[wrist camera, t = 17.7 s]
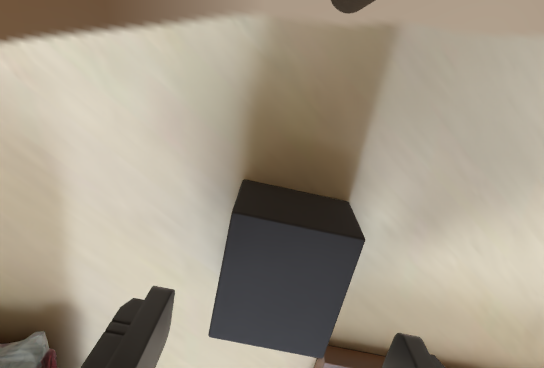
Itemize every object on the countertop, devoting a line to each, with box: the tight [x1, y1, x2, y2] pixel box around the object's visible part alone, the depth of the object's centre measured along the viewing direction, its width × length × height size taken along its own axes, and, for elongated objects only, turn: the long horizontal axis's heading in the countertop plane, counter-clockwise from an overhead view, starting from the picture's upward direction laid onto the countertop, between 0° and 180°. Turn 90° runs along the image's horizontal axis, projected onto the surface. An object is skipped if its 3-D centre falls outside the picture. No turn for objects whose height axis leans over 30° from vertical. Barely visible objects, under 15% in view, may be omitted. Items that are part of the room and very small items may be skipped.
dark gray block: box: [209, 180, 365, 359], centre depth 15 cm, size 6×5×4 cm
